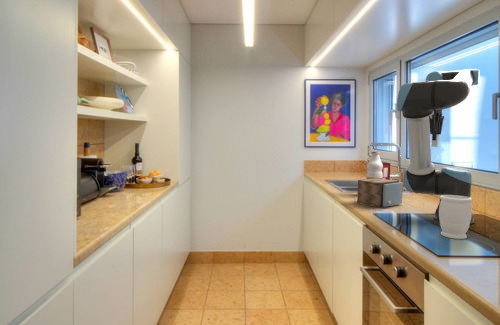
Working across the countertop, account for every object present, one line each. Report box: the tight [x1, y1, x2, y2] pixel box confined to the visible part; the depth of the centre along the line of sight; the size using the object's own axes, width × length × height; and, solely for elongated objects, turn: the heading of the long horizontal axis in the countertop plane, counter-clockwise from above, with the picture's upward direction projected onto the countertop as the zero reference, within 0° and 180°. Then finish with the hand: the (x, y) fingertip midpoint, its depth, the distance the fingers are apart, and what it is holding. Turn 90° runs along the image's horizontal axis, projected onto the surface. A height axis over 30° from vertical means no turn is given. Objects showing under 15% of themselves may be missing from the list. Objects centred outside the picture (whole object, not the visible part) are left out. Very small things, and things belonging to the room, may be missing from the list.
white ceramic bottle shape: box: [366, 151, 383, 179], centre depth 209 cm, size 9×9×28 cm
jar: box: [439, 195, 474, 240], centre depth 126 cm, size 11×10×15 cm
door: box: [382, 181, 404, 208], centre depth 179 cm, size 3×18×12 cm, turn 127°
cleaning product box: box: [367, 160, 391, 180], centre depth 229 cm, size 16×9×20 cm, turn 179°
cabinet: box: [356, 178, 400, 209], centre depth 186 cm, size 14×17×13 cm
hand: (434, 146), depth 178 cm, fingers closed
